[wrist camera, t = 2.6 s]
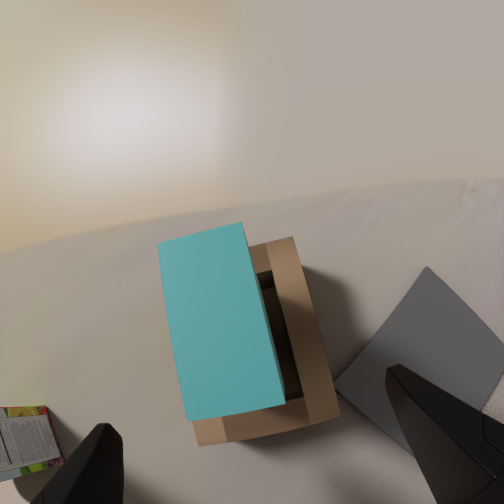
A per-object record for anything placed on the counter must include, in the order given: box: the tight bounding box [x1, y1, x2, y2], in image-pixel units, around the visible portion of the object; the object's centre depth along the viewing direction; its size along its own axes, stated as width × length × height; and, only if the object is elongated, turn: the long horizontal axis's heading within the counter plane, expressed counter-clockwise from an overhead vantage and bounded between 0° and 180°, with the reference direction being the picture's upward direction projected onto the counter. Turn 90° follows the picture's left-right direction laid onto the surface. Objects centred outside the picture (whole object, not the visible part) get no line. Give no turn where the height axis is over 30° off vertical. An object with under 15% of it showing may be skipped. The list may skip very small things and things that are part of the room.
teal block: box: [158, 222, 285, 421], centre depth 13 cm, size 5×2×11 cm, turn 13°
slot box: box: [192, 236, 341, 446], centre depth 17 cm, size 10×7×4 cm
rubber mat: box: [333, 266, 504, 456], centre depth 16 cm, size 10×10×1 cm
